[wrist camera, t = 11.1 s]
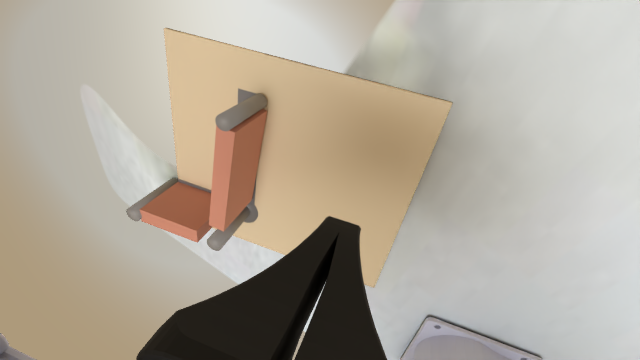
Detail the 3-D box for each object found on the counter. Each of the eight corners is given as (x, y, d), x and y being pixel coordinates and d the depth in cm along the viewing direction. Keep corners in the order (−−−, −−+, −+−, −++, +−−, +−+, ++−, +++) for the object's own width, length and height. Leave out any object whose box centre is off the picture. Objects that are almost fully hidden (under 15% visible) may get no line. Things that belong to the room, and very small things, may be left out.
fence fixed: (252, 204, 26) (220, 242, 22) (251, 215, 27) (220, 253, 23) (169, 176, 27) (125, 206, 23) (171, 186, 28) (127, 218, 24)
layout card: (452, 102, 18) (452, 103, 17) (374, 285, 27) (373, 288, 26) (166, 28, 21) (163, 28, 20) (183, 214, 30) (181, 216, 29)
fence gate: (253, 90, 20) (214, 110, 17) (269, 96, 20) (233, 118, 17) (238, 194, 25) (206, 227, 22) (251, 199, 25) (221, 234, 22)
